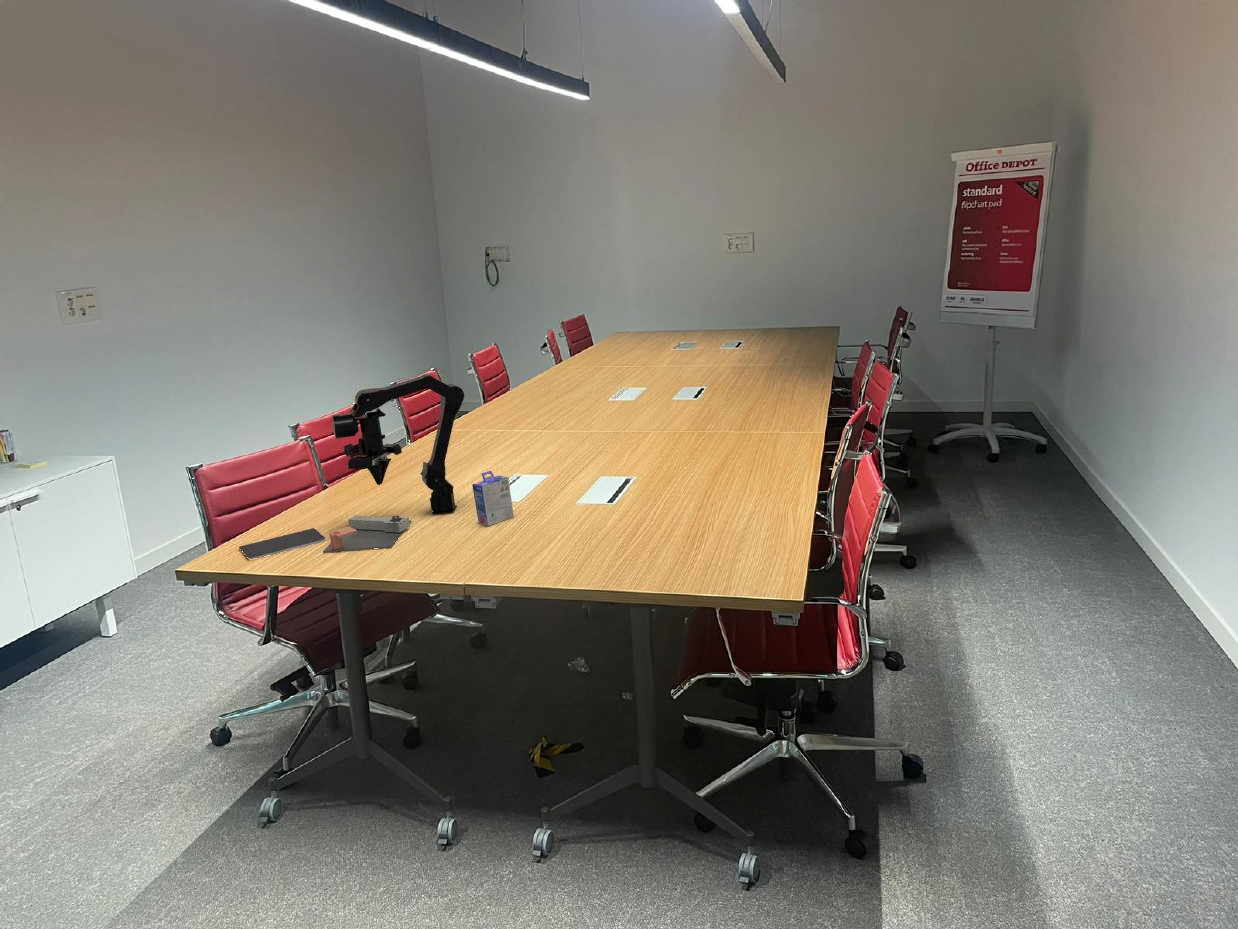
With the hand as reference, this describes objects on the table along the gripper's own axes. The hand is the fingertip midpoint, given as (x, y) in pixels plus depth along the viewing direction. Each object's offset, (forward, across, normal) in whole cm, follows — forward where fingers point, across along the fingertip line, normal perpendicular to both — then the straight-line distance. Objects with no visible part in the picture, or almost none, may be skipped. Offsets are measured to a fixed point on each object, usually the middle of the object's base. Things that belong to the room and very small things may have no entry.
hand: (379, 484), depth 267 cm
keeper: (+12, +21, +1) cm, 24 cm away
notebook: (+13, +22, -19) cm, 32 cm away
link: (+11, +7, +3) cm, 13 cm away
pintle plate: (+12, +12, +3) cm, 17 cm away
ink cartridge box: (+12, -7, +34) cm, 37 cm away
